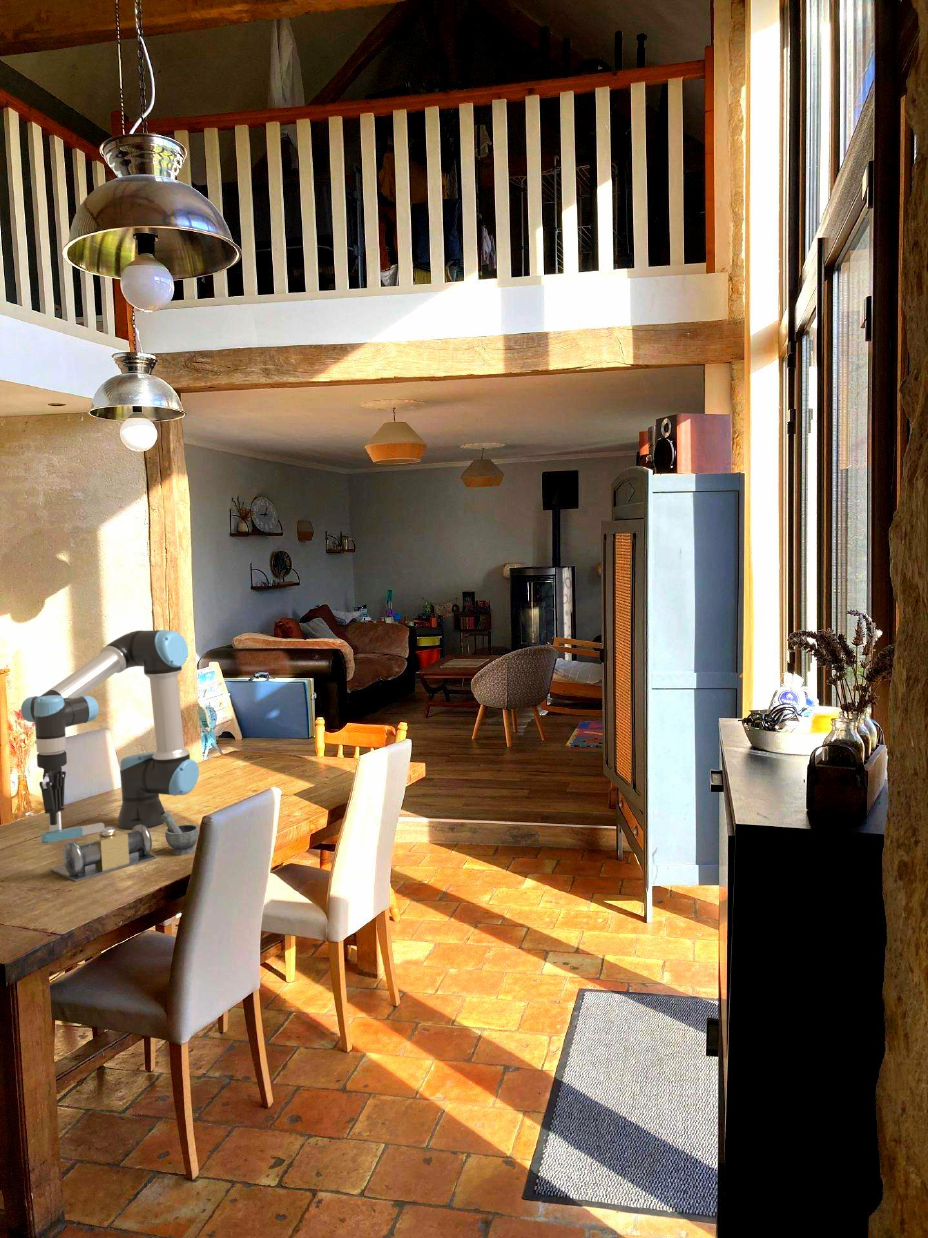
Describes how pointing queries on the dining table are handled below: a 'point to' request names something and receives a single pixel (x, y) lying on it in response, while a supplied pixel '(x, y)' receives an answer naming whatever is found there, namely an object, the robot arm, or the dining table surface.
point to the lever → (77, 832)
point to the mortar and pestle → (180, 835)
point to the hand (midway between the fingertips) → (55, 835)
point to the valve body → (105, 853)
